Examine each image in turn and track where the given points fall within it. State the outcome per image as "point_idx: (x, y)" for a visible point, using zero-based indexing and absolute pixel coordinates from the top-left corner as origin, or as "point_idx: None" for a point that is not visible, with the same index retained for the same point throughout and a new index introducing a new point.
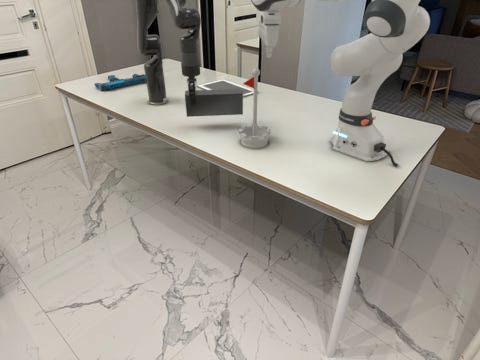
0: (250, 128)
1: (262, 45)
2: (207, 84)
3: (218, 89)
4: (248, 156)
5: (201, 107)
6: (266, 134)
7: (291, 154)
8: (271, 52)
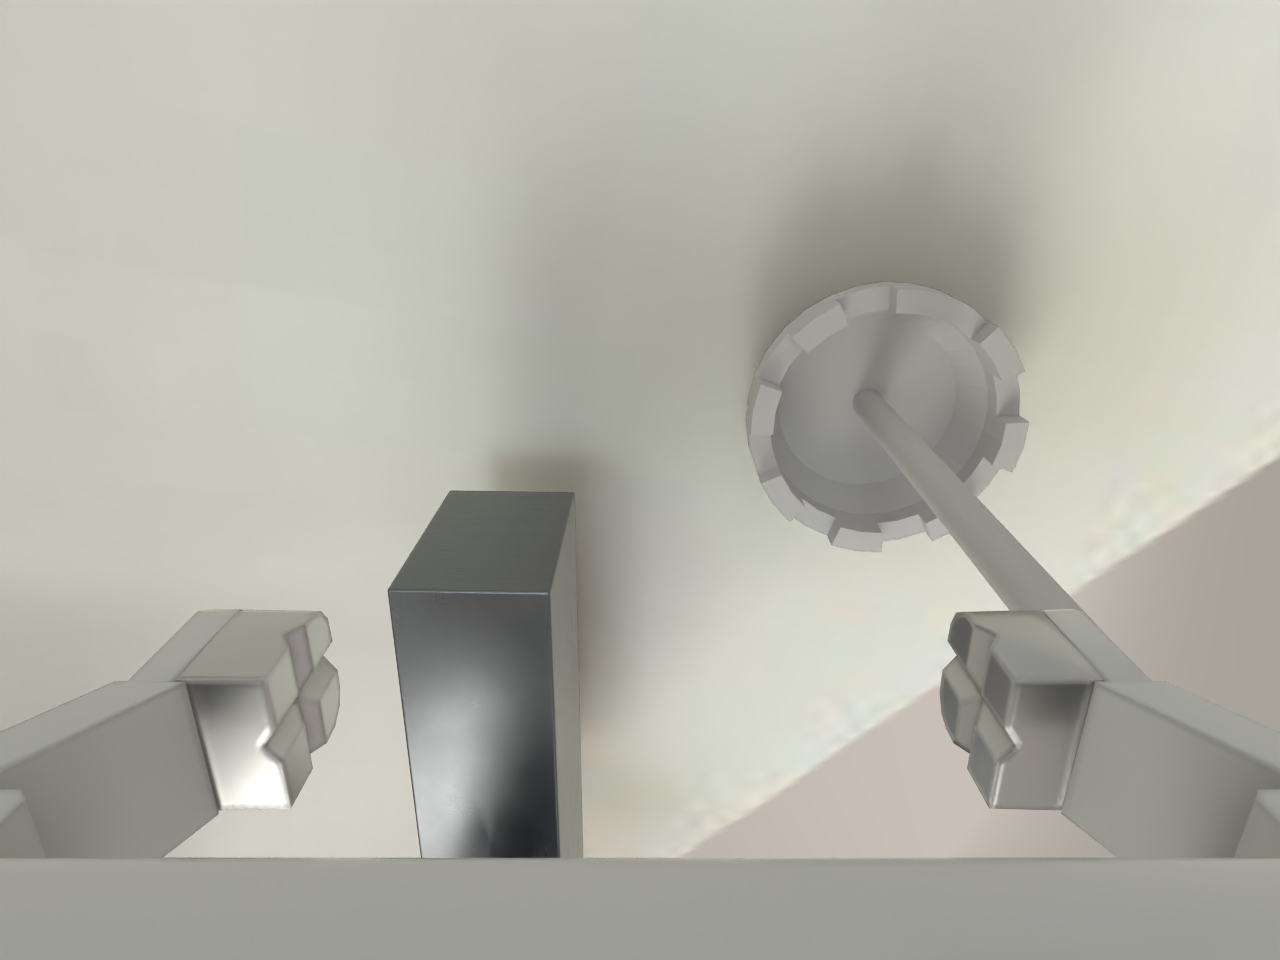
0: (769, 435)
1: (198, 822)
2: None
3: (416, 801)
4: (1062, 467)
5: (575, 839)
6: (1000, 344)
7: (1142, 136)
8: (1177, 692)
